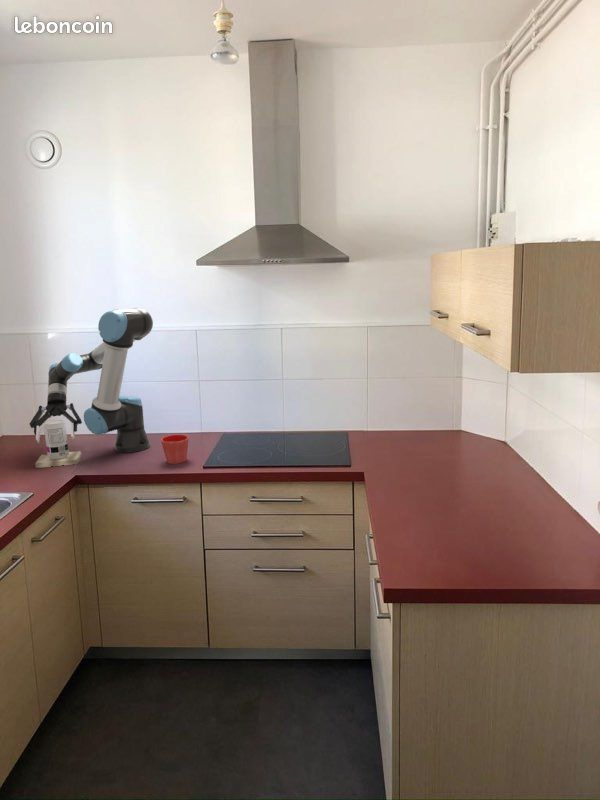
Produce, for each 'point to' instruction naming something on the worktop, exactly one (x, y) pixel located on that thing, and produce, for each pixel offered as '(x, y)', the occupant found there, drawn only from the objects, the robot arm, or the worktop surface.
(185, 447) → the flower pot
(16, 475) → the worktop surface
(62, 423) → the supplement can
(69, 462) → the birch board
